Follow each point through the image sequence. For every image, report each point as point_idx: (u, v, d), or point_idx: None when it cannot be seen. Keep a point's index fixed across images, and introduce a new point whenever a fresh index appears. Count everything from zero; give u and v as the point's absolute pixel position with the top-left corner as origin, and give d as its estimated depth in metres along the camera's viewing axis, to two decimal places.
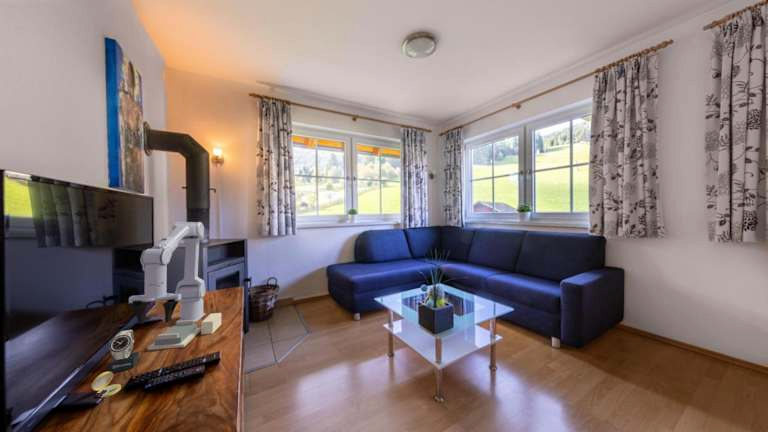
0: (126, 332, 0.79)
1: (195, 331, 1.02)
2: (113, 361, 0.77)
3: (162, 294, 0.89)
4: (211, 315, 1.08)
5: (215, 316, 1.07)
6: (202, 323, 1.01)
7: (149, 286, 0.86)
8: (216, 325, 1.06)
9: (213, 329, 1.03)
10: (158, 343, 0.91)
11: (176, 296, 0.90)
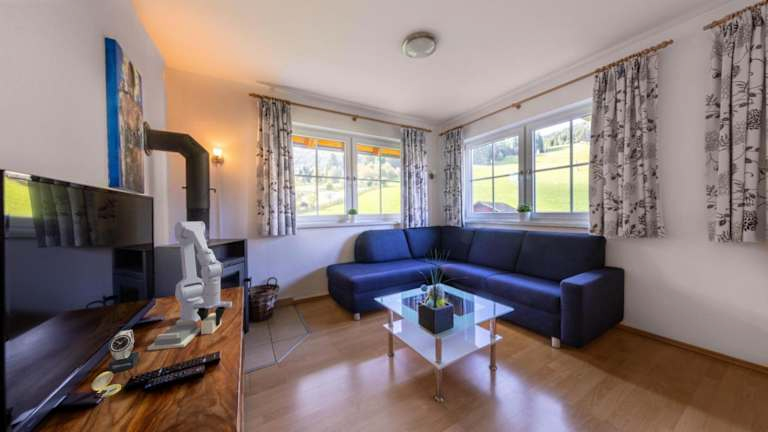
0: (126, 332, 0.79)
1: (195, 331, 1.02)
2: (113, 361, 0.77)
3: (218, 302, 1.06)
4: (211, 315, 1.08)
5: (215, 316, 1.07)
6: (202, 322, 1.01)
7: (208, 296, 1.03)
8: None
9: (213, 329, 1.03)
10: (158, 343, 0.91)
11: (229, 304, 1.07)
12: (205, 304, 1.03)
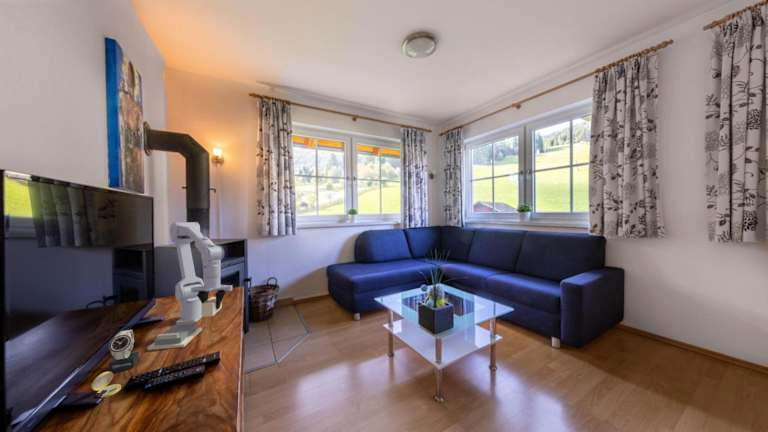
0: (126, 332, 0.79)
1: (195, 331, 1.02)
2: (113, 361, 0.77)
3: (218, 285, 1.06)
4: (211, 298, 1.08)
5: (215, 299, 1.07)
6: (202, 305, 1.01)
7: (208, 278, 1.03)
8: None
9: (213, 311, 1.03)
10: (158, 343, 0.91)
11: (229, 287, 1.07)
12: (205, 287, 1.03)
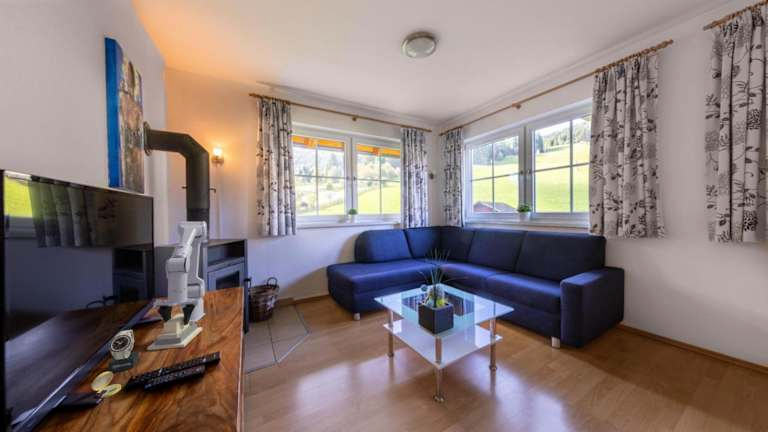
0: (126, 332, 0.79)
1: (195, 331, 1.02)
2: (113, 361, 0.77)
3: (183, 299, 0.97)
4: (177, 316, 0.99)
5: (181, 317, 0.98)
6: (164, 324, 0.93)
7: (172, 292, 0.94)
8: (182, 327, 0.97)
9: (177, 331, 0.94)
10: (158, 343, 0.91)
11: (196, 301, 0.98)
12: (169, 301, 0.95)
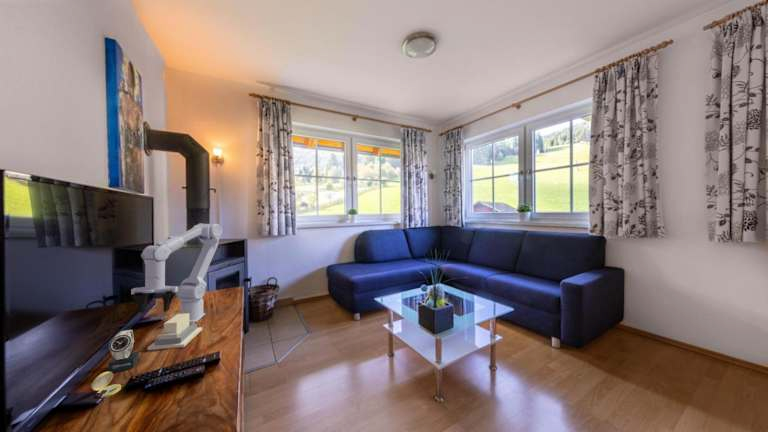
0: (126, 332, 0.79)
1: (195, 331, 1.02)
2: (113, 361, 0.77)
3: (161, 286, 0.99)
4: (177, 316, 0.99)
5: (181, 317, 0.98)
6: (164, 324, 0.93)
7: (149, 279, 0.97)
8: (182, 327, 0.97)
9: (177, 331, 0.94)
10: (158, 343, 0.91)
11: (173, 288, 1.00)
12: (146, 288, 0.97)
